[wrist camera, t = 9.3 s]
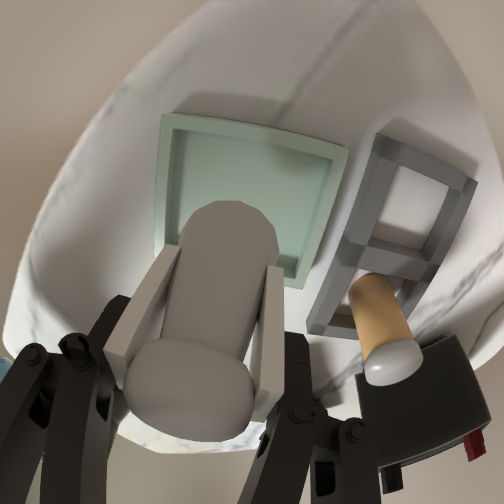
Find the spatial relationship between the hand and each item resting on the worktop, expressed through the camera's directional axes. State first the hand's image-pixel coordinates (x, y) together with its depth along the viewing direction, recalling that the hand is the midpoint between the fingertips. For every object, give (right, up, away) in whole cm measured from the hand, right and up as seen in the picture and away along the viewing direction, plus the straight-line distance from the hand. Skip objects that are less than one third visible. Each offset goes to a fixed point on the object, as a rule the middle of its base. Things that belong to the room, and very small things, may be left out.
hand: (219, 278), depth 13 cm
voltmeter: (+27, -19, +22) cm, 40 cm away
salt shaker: (0, +3, +4) cm, 5 cm away
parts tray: (+1, +6, +9) cm, 11 cm away
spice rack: (+15, +1, +11) cm, 19 cm away
